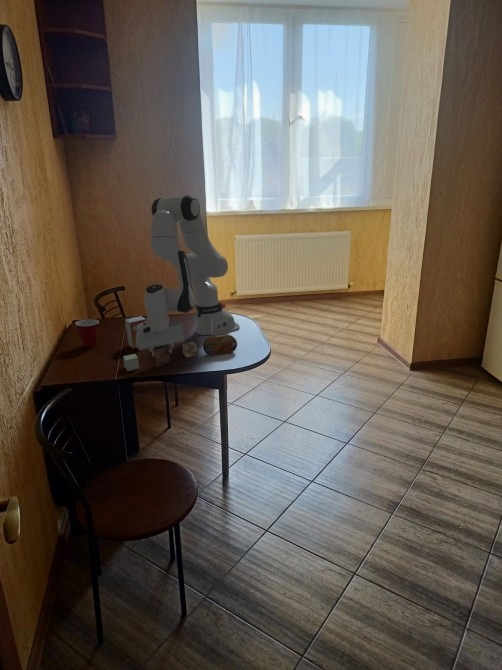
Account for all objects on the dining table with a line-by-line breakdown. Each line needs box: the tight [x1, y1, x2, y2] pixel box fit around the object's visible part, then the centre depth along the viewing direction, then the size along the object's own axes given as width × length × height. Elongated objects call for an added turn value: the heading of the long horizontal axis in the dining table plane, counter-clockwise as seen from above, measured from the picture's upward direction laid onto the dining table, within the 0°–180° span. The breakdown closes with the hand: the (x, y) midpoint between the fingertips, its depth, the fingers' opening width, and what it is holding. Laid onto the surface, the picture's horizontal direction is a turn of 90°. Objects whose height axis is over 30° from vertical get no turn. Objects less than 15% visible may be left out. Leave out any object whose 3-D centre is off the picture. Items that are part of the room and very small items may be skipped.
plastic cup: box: [74, 318, 100, 348], centre depth 223 cm, size 11×11×12 cm
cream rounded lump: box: [181, 341, 199, 359], centre depth 207 cm, size 5×5×5 cm
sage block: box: [123, 353, 140, 372], centre depth 196 cm, size 5×5×5 cm
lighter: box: [153, 344, 171, 367], centre depth 199 cm, size 8×3×10 cm, turn 148°
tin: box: [202, 334, 238, 357], centre depth 206 cm, size 15×3×8 cm, turn 101°
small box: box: [124, 315, 147, 349], centre depth 220 cm, size 8×6×13 cm
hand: (162, 354), depth 199 cm, fingers closed on lighter, 5 cm apart
